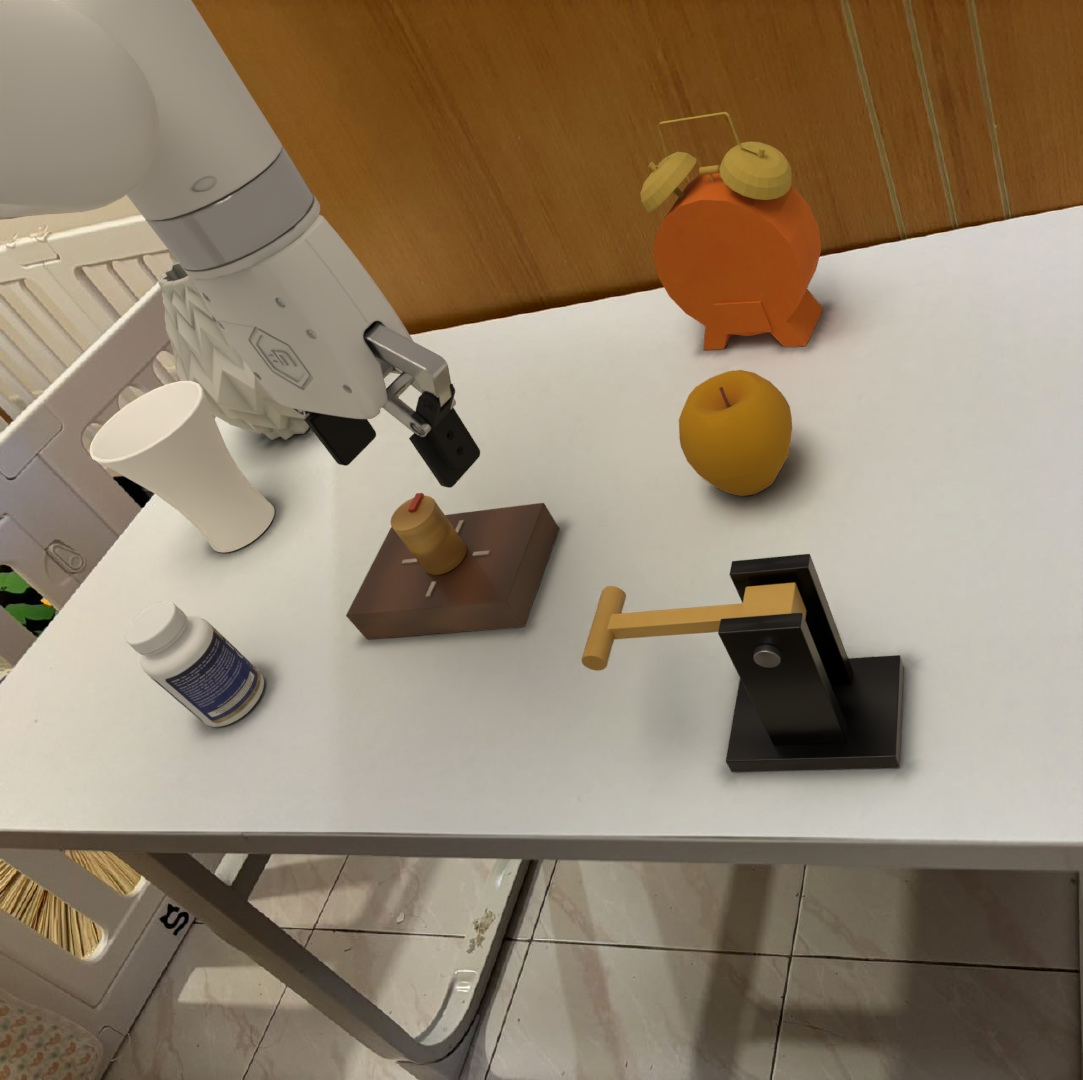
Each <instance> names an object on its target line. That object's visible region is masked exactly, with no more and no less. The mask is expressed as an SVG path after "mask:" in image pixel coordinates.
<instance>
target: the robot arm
mask: <svg viewBox="0 0 1083 1080" xmlns="http://www.w3.org/2000/svg"><path fill="white" fill-rule="evenodd" d="M126 196H127V198H128V199H129V200H130V202H131V203H132V204H133V206H135V208H136V209H137V210H138V212H139V213H140V215H141V216H142V217H143V219H145V221H146V223H147V224H148V225H149V226H150V228H151V229H152V231H153V232H154V233H155V234H156V236H157V237H158V239H160V241H161V242H162V243H163V245H164V246H165V247H166V248H167V250H168V251H169V253H170V254H171V255H172V256H173V258H174V260H176V263H179V264H180V265H181V266H182V268H183V269H184V271H185V272H186V273H187V275H188V276H189V277H190V278H191V279H192V281H193V283H194V285H195V286H196V288H197V290H198V292H199V293H200V295H201V297H202V299H203V300H204V302H205V304H206V305H207V307H208V308H209V310H210V312H211V313H212V315H213V316H214V318H215V319H216V321H217V322H218V324H219V325H220V327H221V328H222V330H223V331H224V333H225V334H226V336H227V337H228V339H229V340H230V342H231V343H232V345H233V346H234V347H235V349H236V350H237V352H238V353H239V355H240V356H241V357H242V359H243V360H244V362H245V363H246V364H247V366H248V367H249V369H250V370H251V371H252V373H253V374H254V375H255V377H256V378H257V380H258V381H259V382H260V384H261V385H262V386H263V388H264V389H265V390H266V392H267V393H268V394H269V395H270V397H271V398H272V399H273V400H275V401H276V402H278V403H279V404H281V405H283V406H286V407H290V408H292V409H293V410H294V411H295V412H296V413H297V414H299V415H301V416H306V415H307V414H308V413H309V414H310V415H309V416H308V417H307V418H306V419H304V420H305V422H306V423H307V424H308V425H309V429H311V431H312V432H313V433H314V435H315V437H316V438H317V439H318V440H319V441H320V442H321V444H322V445H323V447H324V448H325V450H326V451H327V452H328V453H329V455H330V456H331V457H332V458H333V460H334V461H335V462H336V464H338V465H341V466H345V467H346V466H349V465H350V464H351V463H352V462H353V461H354V460H355V459H356V458H357V457H358V456H359V455H360V454H361V453H362V452H363V451H364V450H366V448H367V447H368V446H369V445H370V444H371V443H372V442H373V441H374V440H375V438H376V437H377V431H376V430H375V427H373V426H372V424H371V423H370V422H369V420H371V419H375V418H376V417H378V416H379V414H381V409H383V410H384V411H386V412H387V413H388V414H389V415H391V416H392V417H394V418H395V419H396V420H397V421H398V422H400V423H401V424H402V425H403V426H405V427H406V428H407V429H408V430H410V431H411V432H412V434H411V435H410V437H409V438H408V440H409V441H410V442H411V444H412V445H413V447H414V448H415V450H416V452H417V453H418V454H419V456H420V457H421V459H422V460H423V462H424V463H425V465H426V466H427V467H428V469H429V470H430V473H432V475H433V476H434V478H435V479H436V481H437V482H438V484H439V485H440V486H441V487H443V488H451V489H452V488H453V487H454V486H455V485H456V484H457V483H458V482H459V481H460V480H461V478H462V477H463V476H464V475H465V474H466V473H467V471H468V470H469V469H470V468H471V467H472V466H473V464H474V465H475V463H476V461H477V460H478V459H479V458H480V456H481V449H480V447H479V446H478V444H477V443H476V441H475V440H474V438H473V436H472V435H471V433H470V432H469V430H468V428H467V427H466V425H465V424H464V422H463V420H462V419H461V417H460V416H459V414H458V412H457V411H456V409H455V406H456V405H457V402H456V399H455V393H456V388H455V386H454V384H453V383H452V380H451V373H450V369H449V365H448V362H447V360H446V359H445V358H444V357H443V356H442V355H439V354H437V353H436V352H434V351H433V350H430V349H429V348H426V347H424V346H422V345H421V344H419V343H417V342H415V341H414V340H413V338H412V337H411V334H410V332H409V331H408V330H407V328H406V326H405V324H404V323H403V322H402V320H401V319H400V317H399V315H398V314H397V312H396V311H395V309H394V308H393V306H392V304H391V303H390V301H389V300H388V299H387V297H386V296H385V295H384V293H383V292H382V291H381V289H380V288H379V286H378V285H377V283H376V282H375V281H374V279H373V278H372V276H371V275H370V273H369V272H368V270H367V269H366V268H365V267H364V265H363V264H362V263H361V261H360V260H359V259H358V258H357V256H356V255H355V254H354V252H353V251H352V250H351V249H350V247H349V246H348V245H347V243H345V241H344V239H342V237H341V236H340V235H339V233H338V232H337V231H336V230H335V229H334V227H332V225H331V224H330V223H329V221H328V220H327V219H326V218H325V216H323V215H322V214H320V213H321V203H320V202H319V200H318V198H317V197H316V196H315V194H314V193H313V191H312V189H311V188H310V186H309V185H308V183H307V182H306V180H305V178H304V177H303V175H302V174H301V172H300V170H299V168H298V167H297V166H296V164H295V162H294V161H293V159H292V158H291V157H290V155H289V153H288V151H287V149H286V148H285V147H284V145H283V144H282V142H281V140H280V139H279V137H278V136H277V134H276V133H275V131H274V129H273V128H272V125H270V122H268V120H267V118H266V117H265V115H264V113H263V112H262V110H261V109H260V107H259V105H258V104H257V102H256V101H255V99H254V98H253V96H252V94H251V93H250V91H249V90H248V88H247V86H246V85H245V84H244V82H243V80H242V78H241V77H240V76H239V74H238V72H237V71H236V69H235V68H234V66H233V64H232V63H231V61H230V60H229V58H228V56H227V55H226V53H225V51H224V50H223V48H222V47H221V45H220V43H219V41H218V40H217V38H216V37H215V36H214V33H213V32H212V31H211V29H210V28H209V26H208V24H207V23H206V21H205V19H204V18H203V17H202V15H201V13H200V12H199V10H198V9H197V6H196V5H195V3H194V2H193V0H0V220H1V221H2V220H13V219H18V218H25V217H35V216H44V215H58V214H59V215H60V214H61V215H63V214H75V213H76V214H77V213H84V212H89V211H94V210H98V209H101V208H104V207H107V206H108V205H110V204H111V205H112V203H115V202H117V201H119V200H121V199H123V198H124V197H126ZM390 374H397V375H398V376H397V377H396V378H395V379H394V380H393V381H392V382H391V383H389V385H388V386H386V382H385V379H386V377H387V376H388V375H390ZM410 386H411V387H412V388H414V389H415V390H417V391H418V392H419V393H420V395H419V396H418V398H417V403H416V407H415V410H414V409H413V408H411V407H410V406H409V405H408V404H407V403H406V402H404V401H403V400H402V399H401V398H400V396H401V395H402V394H403V393H404V392H405V391H407V390H408V388H409V387H410Z"/></svg>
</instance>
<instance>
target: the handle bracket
mask: <svg viewBox="0 0 1083 1080" xmlns="http://www.w3.org/2000/svg"><path fill="white" fill-rule="evenodd" d="M728 574H729V577H730V580H731V582H732V583H733V585H734V588H735V590H736V593H737V594H738V597H739V599H740V601H741V603H743V599H744V594H745V588H746V587H749V586H761V585H772V584H783V583H796V586H797V588H798V591H799V593H800V596H801V598H802V601H803V603H804V606H805V608H806V618H805V619H804V616H803V614H802V613H790V614H777V615H764V616H751V617H738V618H725V619H721V621H720V626H719V631H718V632H717V634H718V636H719V639H720V640H721V642H722V645H723V646H724V649H725V651H726V652H727V655H728V656H729V658H730V661H731V662H732V664H733V667H734V669H735V671H736V673H737V675H738V677H739V682H738V687H737V694H736V700H735V704H734V712H733V716H732V722H731V729H730V733H729V740H728V746H727V751H726V758H725V763H726V765H727V766H728V768H729V770H730V772H732V773H738V772H740V773H741V772H743V773H744V772H777V771H778V772H779V771H782V772H783V771H784V772H785V771H818V770H819V771H820V770H822V771H823V770H856V769H857V770H859V769H862V770H863V769H896V768H897V769H898V768H900V766H901V765H900V763H901V744H902V743H901V742H902V741H901V739H902V719H903V717H902V715H903V697H904V696H903V694H904V693H903V690H904V673H905V672H904V668H905V665H904V663H903V659H902V657H901V655H900V654H898V655H897V654H896V655H895V654H894V655H881V656H863V657H862V656H861V657H849V656H848V653H847V651H846V649H845V646H844V643H843V640H842V637H841V634H840V632H839V629H838V627H837V624H836V621H835V618H834V615H833V613H832V610H831V606H830V605H829V602H828V598H827V596H826V594H825V592H824V589H823V586H822V583H821V580H820V577H819V575H818V572H817V569H816V566H815V564H814V561H813V559H812V556H811V554H810V553H802V554H792V555H783V556H782V555H781V556H772V557H771V556H770V557H761V558H753V559H751V558H749V559H740V560H732V561H731V565H730V570H729V573H728Z"/></svg>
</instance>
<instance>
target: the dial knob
mask: <svg viewBox="0 0 1083 1080" xmlns="http://www.w3.org/2000/svg"><path fill="white" fill-rule="evenodd" d="M445 515H446V514H445V513H444V512H443V510H442V509H441V507H440V506H439V505H438V503H437V502H436V500H435V499H434V498H433V497H432V496H430V495H425V494H424V493H423V492H416V493H415V495H414V496H413V497H412V498H410V499H408V500H406V501H404V502H403V503H402V504H400V505H399V506H398V507H397V508H396V510H395V511H394V512H393V514H392V516H391V518H390V527H391V526H392V528H393V529H394V531H395V532H396V533H397V534H398V536H399V537H400V538H401V540H402V541H403V542H404V544H405V545H406V546H407V548H408V549H409V550H410V552H411V553H412V554H413V555H414V557H415V558H416V559H417V561H418V562H419V563H420V565H421V566H422V567H423V569H424V570H425V571H426V572H427V573H428V574H431V575H441V574H444V573H447V572H449V571H451V570H452V569H454V568H455V567H457V566H458V565H459V564H460V563H461V562H462V560H463V559H464V557H465V555H466V552H467V547H466V544H465V543H464V542H463V540H462V539H461V537H460V536H459V534H458V533H457V532H456V530H455V529H454V527H453V526H452V524H451V523H450V522H449V520H448V519H447V517H446V516H445Z"/></svg>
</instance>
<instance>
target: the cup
mask: <svg viewBox="0 0 1083 1080" xmlns="http://www.w3.org/2000/svg"><path fill="white" fill-rule="evenodd" d="M89 455H90V457H91V459H92V460H93V461H94V462H97V463H98V464H100V465H102V466H105V467H106V468H108V469H110V470H111V471H113V472H115V473H117V474H119V475H121V476H123V477H124V478H126V479H127V480H130V481H132V482H133V483H135V484H137V485H139V486H140V487H142V488H144V489H146V490H147V491H149V492H151V493H153V494H155V495H156V496H157V497H159V498H160V499H161V500H163V501H164V502H166V503H167V504H168V505H169V506H170V507H172V508H174V510H177V511H178V512H179V513H180V514H181V515H182V516H183V517H184V518H185V519H186V520H187V521H188V522H190V523H191V524H192V525H193V526H194V527H195V528H196V529H197V530H198V531H199V533H201V535H202V536H203V537H204V539H205V541H206V542H207V543H208V544H209V546H210V547H211V548H212V550H213V551H215V552H217V553H229V552H234V551H237V550H240V549H242V548H244V547H245V546H248V545H249V544H251V543H253V541H255V540H257V539H258V538H259V537H260V536H261V535H262V534H264V532H265V531H266V530H267V529H268V528H269V526H270V525H271V523H272V521H273V520H274V517H275V514H276V513H275V507H274V505H273V504H272V503H270V502H269V501H268V500H267V499H266V497H264V496H263V495H262V494H261V493H260V492H259V491H258V490H257V489H256V488H255V487H253V484H251V483H250V481H249V480H248V479H247V477H246V476H245V475H244V473H243V472H242V471H241V468H240V467H239V466H238V464H237V462H236V461H235V459H234V458H233V456H232V454H231V452H230V450H229V448H228V447H227V445H226V443H225V440H224V438H223V436H222V433H221V430H220V428H219V425H218V424H217V421H216V419H215V415H213V414H212V411H211V409H210V406H209V404H208V401H207V399H206V396H205V393H204V391H203V389H202V387H201V386H200V384H198V383H195V382H192V381H179V382H178V381H175V382H170V383H167V384H164V385H161V386H159V387H156V388H153V389H152V390H150V391H148V392H145V393H144V394H142V395H140V396H138V397H136V399H133V400H132V401H130V402H129V403H127V404H126V405H125V406H123V407H122V408H121V409H119V410H118V411H117V412H115V413H114V414H113V415H112V416H111V417H110V418H109V419H108V420H107V421H106V422H105V423H104V424H103V425H102V426H101V427H100V429H99V430H98V431H97V432H96V434H95V435H94V437H93V439H92V441H91V443H90V446H89Z"/></svg>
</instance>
